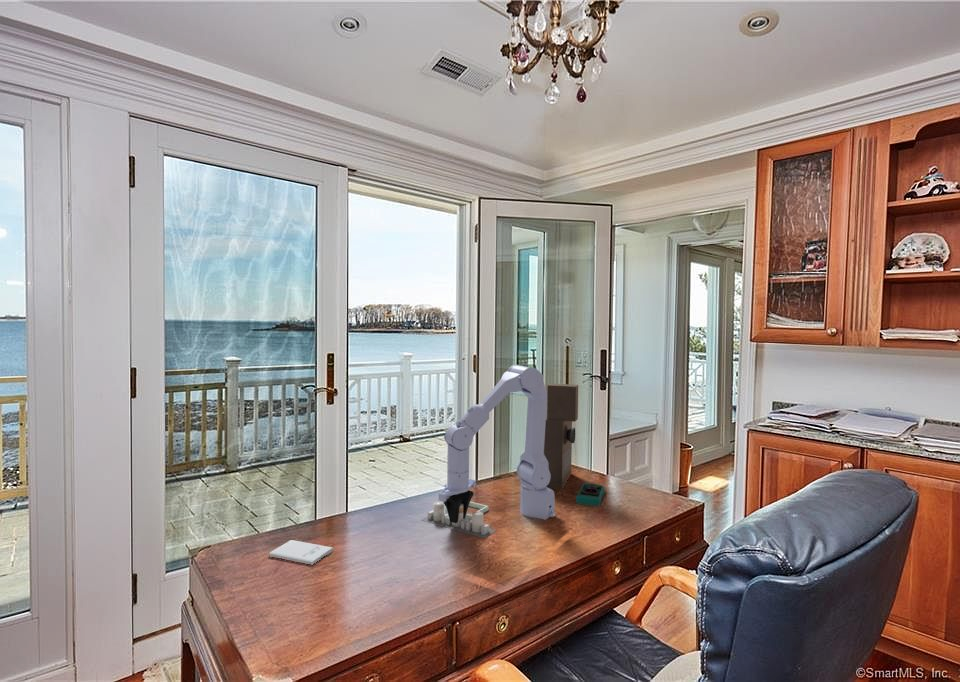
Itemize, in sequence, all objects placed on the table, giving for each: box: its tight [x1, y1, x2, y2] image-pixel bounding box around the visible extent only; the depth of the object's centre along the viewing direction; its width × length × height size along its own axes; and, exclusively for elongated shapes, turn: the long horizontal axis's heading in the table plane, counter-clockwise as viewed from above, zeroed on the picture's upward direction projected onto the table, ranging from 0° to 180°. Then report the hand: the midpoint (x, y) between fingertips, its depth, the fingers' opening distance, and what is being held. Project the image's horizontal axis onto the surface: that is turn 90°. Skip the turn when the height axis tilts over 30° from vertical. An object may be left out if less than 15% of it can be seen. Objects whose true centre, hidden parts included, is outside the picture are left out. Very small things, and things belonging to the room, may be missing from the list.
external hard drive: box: [268, 539, 334, 566], centre depth 123 cm, size 2×8×12 cm
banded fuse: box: [452, 504, 464, 527], centre depth 138 cm, size 3×3×6 cm
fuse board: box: [421, 509, 497, 539], centre depth 138 cm, size 21×6×3 cm, turn 57°
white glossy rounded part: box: [432, 501, 445, 522], centre depth 142 cm, size 3×3×4 cm
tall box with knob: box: [544, 383, 579, 490], centre depth 181 cm, size 19×14×35 cm
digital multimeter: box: [575, 482, 606, 507], centre depth 164 cm, size 7×15×3 cm, turn 160°
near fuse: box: [471, 511, 484, 533], centre depth 134 cm, size 3×3×4 cm
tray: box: [444, 501, 489, 521], centre depth 148 cm, size 9×9×2 cm
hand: (457, 519), depth 138 cm, fingers closed on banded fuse, 3 cm apart
